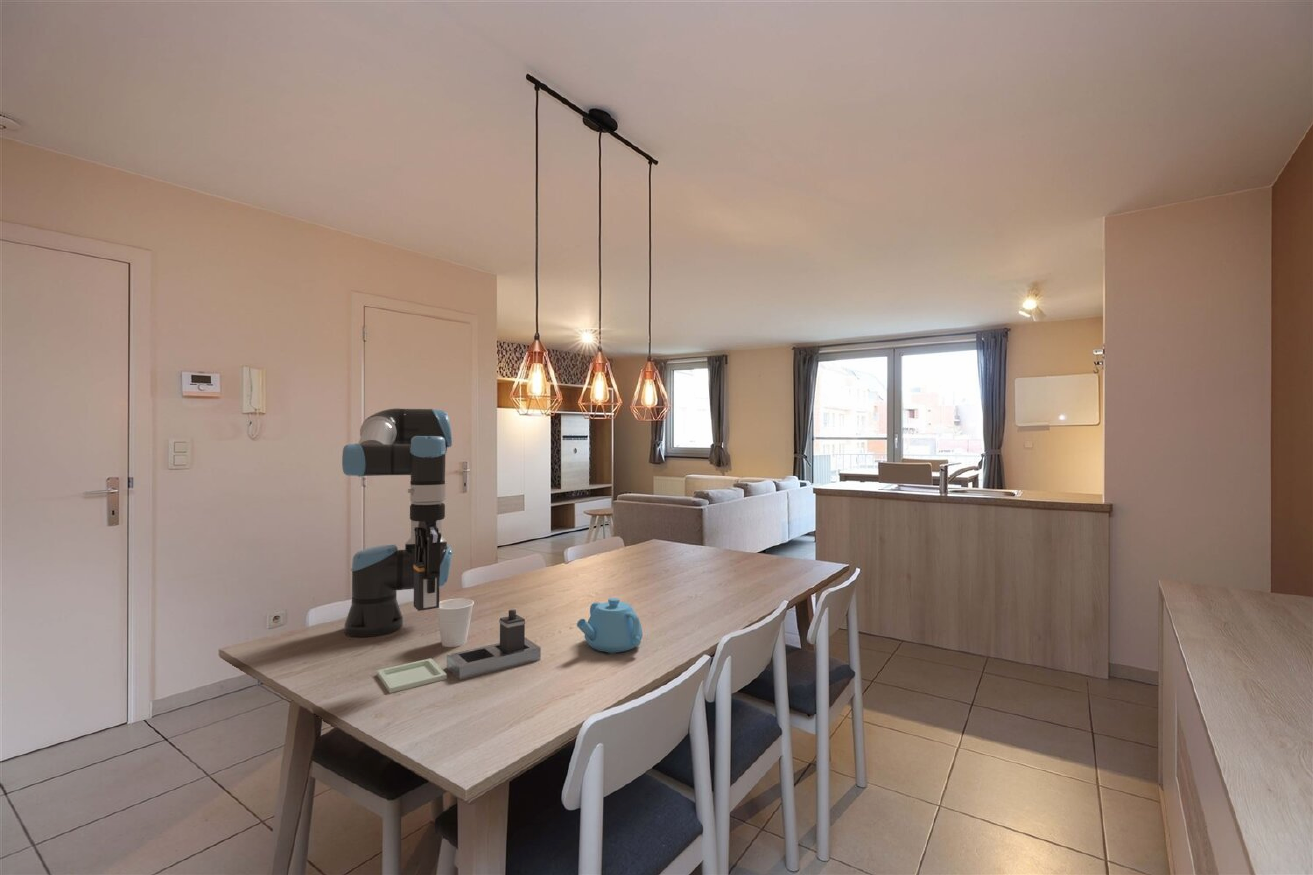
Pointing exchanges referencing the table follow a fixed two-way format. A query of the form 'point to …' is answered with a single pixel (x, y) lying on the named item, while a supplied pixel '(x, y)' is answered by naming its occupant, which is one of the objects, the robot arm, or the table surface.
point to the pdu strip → (490, 659)
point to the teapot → (612, 627)
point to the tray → (411, 675)
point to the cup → (454, 621)
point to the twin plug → (512, 633)
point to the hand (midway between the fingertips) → (426, 603)
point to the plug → (418, 587)
